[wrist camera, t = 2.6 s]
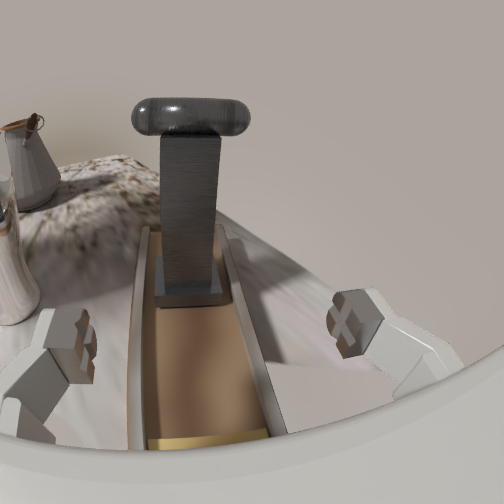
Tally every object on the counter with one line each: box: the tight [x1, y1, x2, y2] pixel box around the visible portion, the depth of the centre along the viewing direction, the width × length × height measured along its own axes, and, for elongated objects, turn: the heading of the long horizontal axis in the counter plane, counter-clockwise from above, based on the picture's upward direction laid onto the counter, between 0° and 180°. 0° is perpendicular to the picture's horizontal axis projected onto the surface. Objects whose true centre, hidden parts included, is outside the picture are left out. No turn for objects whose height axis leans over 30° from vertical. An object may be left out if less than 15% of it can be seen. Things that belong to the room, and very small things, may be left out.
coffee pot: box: [0, 113, 61, 211], centre depth 30 cm, size 21×12×15 cm, turn 49°
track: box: [127, 225, 288, 450], centre depth 22 cm, size 9×24×2 cm, turn 13°
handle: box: [131, 98, 251, 308], centre depth 23 cm, size 7×12×14 cm, turn 13°
